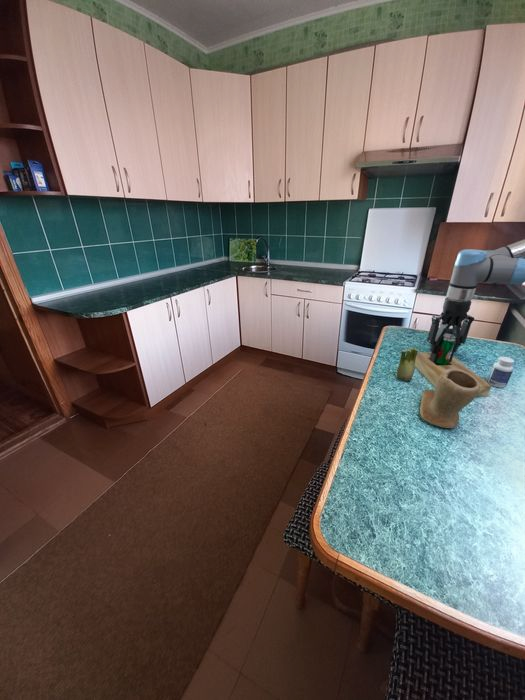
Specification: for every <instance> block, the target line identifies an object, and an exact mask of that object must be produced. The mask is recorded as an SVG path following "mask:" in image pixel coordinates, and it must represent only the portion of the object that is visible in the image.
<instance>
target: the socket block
mask: <svg viewBox="0 0 525 700" xmlns="http://www.w3.org/2000/svg"><path fill="white" fill-rule="evenodd" d="M430 355H431V352H418V353H417V356H416V359H415V369H416V370H417V371H418V372H420V374H421V375H422V376H423V377H424V378H425V379H426V380H427V381H428V382H429V383H430V384H431V385H432V386H433V387H434V388H435V386H436V383H437V381H438V379H439V377H440V375H441V374H442V372H443V371H445V370H447V369H460V370H463V371H465V372H467V373H469V374H471V375H472V376H473V377H475V378H476V379H477V381H478V382H479V384H480V390H479V392H478V394H477V395H476V397H475V398H479V397H480V398H481V397H483V398H484V397H488V396H489V393H490V392H491V390H492V389H491V388H492V385H490V384H489V383H488V382H487V381H486V380H484V379H483V378H482V377H480V376H479V375H478V374H476V373H475V372H474V371H473V370H471V369H470V368H469V367H467V366H466V365H465V364H463V363H462V362H461V361H460V360H458V359H457V358H456V357H454V356H453V358H452V361H451V362H449V363H448V365H436V364H434V363H433V362H432V361H431V360H430Z"/></svg>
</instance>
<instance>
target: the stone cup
mask: <svg viewBox="0 0 525 700" xmlns="http://www.w3.org/2000/svg"><path fill="white" fill-rule="evenodd" d="M479 390H480V384H479V382H478V381H477V379H476V378H475V377H473V376H472V375H471V374H469V373H467V372H465V371H463V370H460V369H447V370H445V371H443V372H442V374H441V375H440V377H439V379H438V381H437V383H436V386H435V387H434V389H425V390H423V392H422V395H421V400H420V407H419V413H420V418H421V419H422V420H424V421H425V422H427V423H428V424H431V425H433V426H436V427H438V428H444V429H455V428H456V427H457V426H458V424H459V420H460V412H461V411H462V410H463V409H464V408H465V407H467V406H468V405H469V404H470V403H472V402H473V401H474V400H475V399H476V398H477V397H476V395H477V394H478V392H479Z"/></svg>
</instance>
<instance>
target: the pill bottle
mask: <svg viewBox="0 0 525 700" xmlns="http://www.w3.org/2000/svg"><path fill="white" fill-rule="evenodd" d="M514 364H515V360H514V359H513V358H511V357H508V356H499V357H498V359H497V361H496V362H494V363H493V365H492V368H491V370H490V373H489V375H488V378H487V381H486V382H487V383H488V384H489V385H491V387H495V388H498V389H505V388H507V386H508V384H509V381H510V379H511V376H512V375H513V372H514V369H515V368H514V366H513V365H514Z"/></svg>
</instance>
